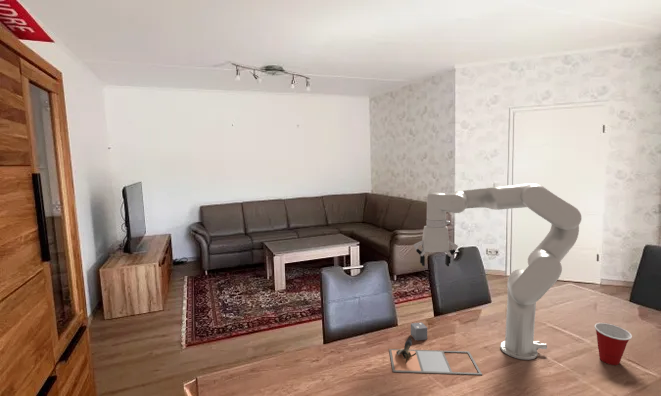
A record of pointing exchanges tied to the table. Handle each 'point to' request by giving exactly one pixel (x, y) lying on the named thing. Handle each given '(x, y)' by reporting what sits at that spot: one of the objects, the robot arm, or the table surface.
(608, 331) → the plastic cup
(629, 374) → the table surface
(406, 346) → the eagle figurine
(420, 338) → the die
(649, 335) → the table surface
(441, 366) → the board
